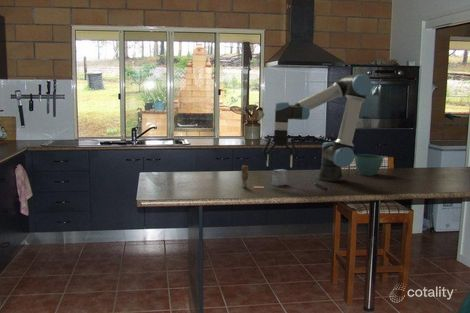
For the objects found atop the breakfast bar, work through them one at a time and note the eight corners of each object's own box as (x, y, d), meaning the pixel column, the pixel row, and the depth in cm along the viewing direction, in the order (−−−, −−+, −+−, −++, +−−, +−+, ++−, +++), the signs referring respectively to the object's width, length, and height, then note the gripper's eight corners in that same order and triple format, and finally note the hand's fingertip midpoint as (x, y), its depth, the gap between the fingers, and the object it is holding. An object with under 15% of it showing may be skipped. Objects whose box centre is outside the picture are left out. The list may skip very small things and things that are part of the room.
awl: (247, 186, 283) (248, 165, 282) (247, 188, 280) (248, 166, 278) (241, 186, 283) (242, 165, 282) (241, 187, 280) (242, 166, 278)
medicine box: (281, 183, 296) (281, 168, 294) (286, 184, 292) (287, 169, 291) (271, 185, 290) (272, 170, 289) (277, 186, 287) (277, 171, 286)
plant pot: (385, 174, 335) (386, 156, 333) (377, 178, 320) (378, 159, 318) (358, 171, 345) (359, 153, 343) (349, 175, 329) (350, 156, 328)
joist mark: (264, 187, 283) (264, 186, 283) (264, 188, 280) (264, 187, 280) (253, 187, 283) (253, 186, 283) (253, 188, 280) (253, 187, 280)
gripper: (302, 129, 291) (300, 166, 293) (258, 128, 291) (257, 164, 294) (303, 130, 283) (301, 168, 286) (259, 129, 283) (257, 166, 286)
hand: (279, 166), depth 290 cm, fingers open, 13 cm apart
